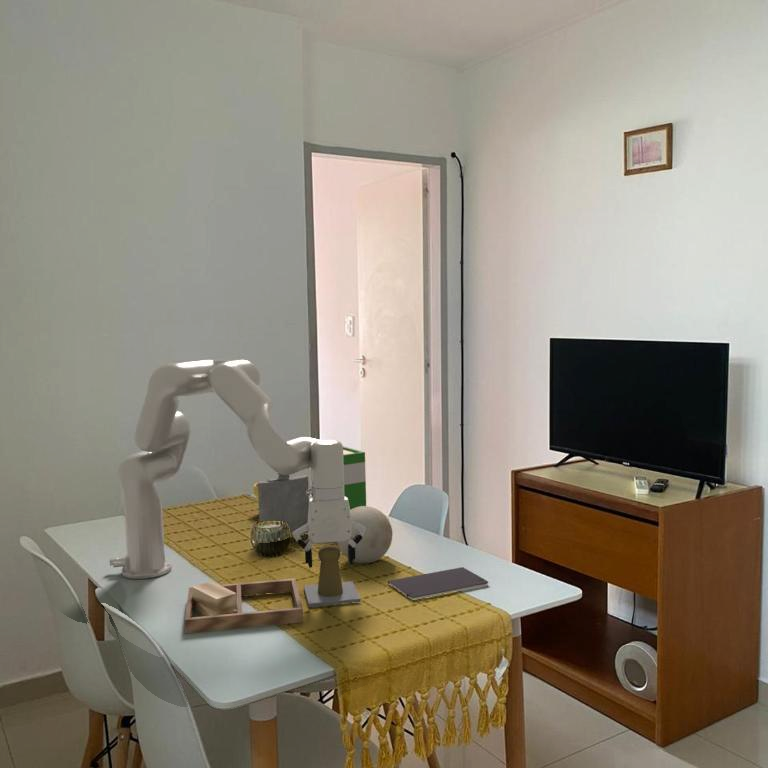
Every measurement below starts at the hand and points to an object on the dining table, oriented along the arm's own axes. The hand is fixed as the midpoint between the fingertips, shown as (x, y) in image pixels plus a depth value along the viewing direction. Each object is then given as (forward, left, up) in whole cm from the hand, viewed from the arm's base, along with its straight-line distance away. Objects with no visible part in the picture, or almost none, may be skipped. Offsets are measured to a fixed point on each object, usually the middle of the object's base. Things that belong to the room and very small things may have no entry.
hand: (330, 564), depth 191 cm
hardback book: (+11, +60, -8) cm, 62 cm away
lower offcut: (-27, -4, -8) cm, 29 cm away
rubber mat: (0, 0, -8) cm, 8 cm away
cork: (0, 0, -7) cm, 7 cm away
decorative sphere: (+12, +23, -8) cm, 27 cm away
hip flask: (-7, +52, -8) cm, 53 cm away
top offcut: (-27, -4, -5) cm, 28 cm away
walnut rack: (-21, -4, -8) cm, 22 cm away
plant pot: (-10, +81, -8) cm, 82 cm away
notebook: (+26, +1, -9) cm, 28 cm away
